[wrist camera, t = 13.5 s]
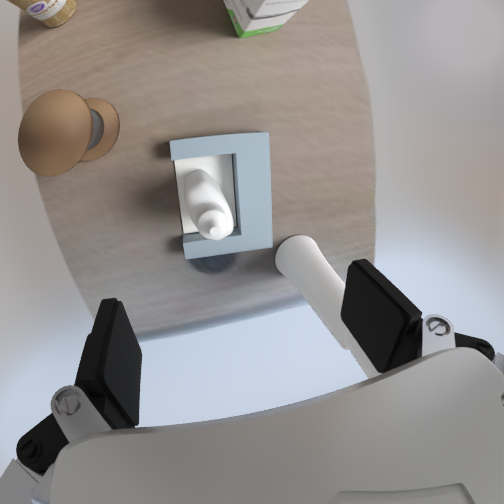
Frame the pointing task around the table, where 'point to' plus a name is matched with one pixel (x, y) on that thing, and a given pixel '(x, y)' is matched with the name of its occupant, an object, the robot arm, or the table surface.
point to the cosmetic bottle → (320, 290)
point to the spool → (66, 131)
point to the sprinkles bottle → (48, 10)
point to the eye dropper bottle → (207, 206)
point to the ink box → (260, 15)
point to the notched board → (228, 189)
